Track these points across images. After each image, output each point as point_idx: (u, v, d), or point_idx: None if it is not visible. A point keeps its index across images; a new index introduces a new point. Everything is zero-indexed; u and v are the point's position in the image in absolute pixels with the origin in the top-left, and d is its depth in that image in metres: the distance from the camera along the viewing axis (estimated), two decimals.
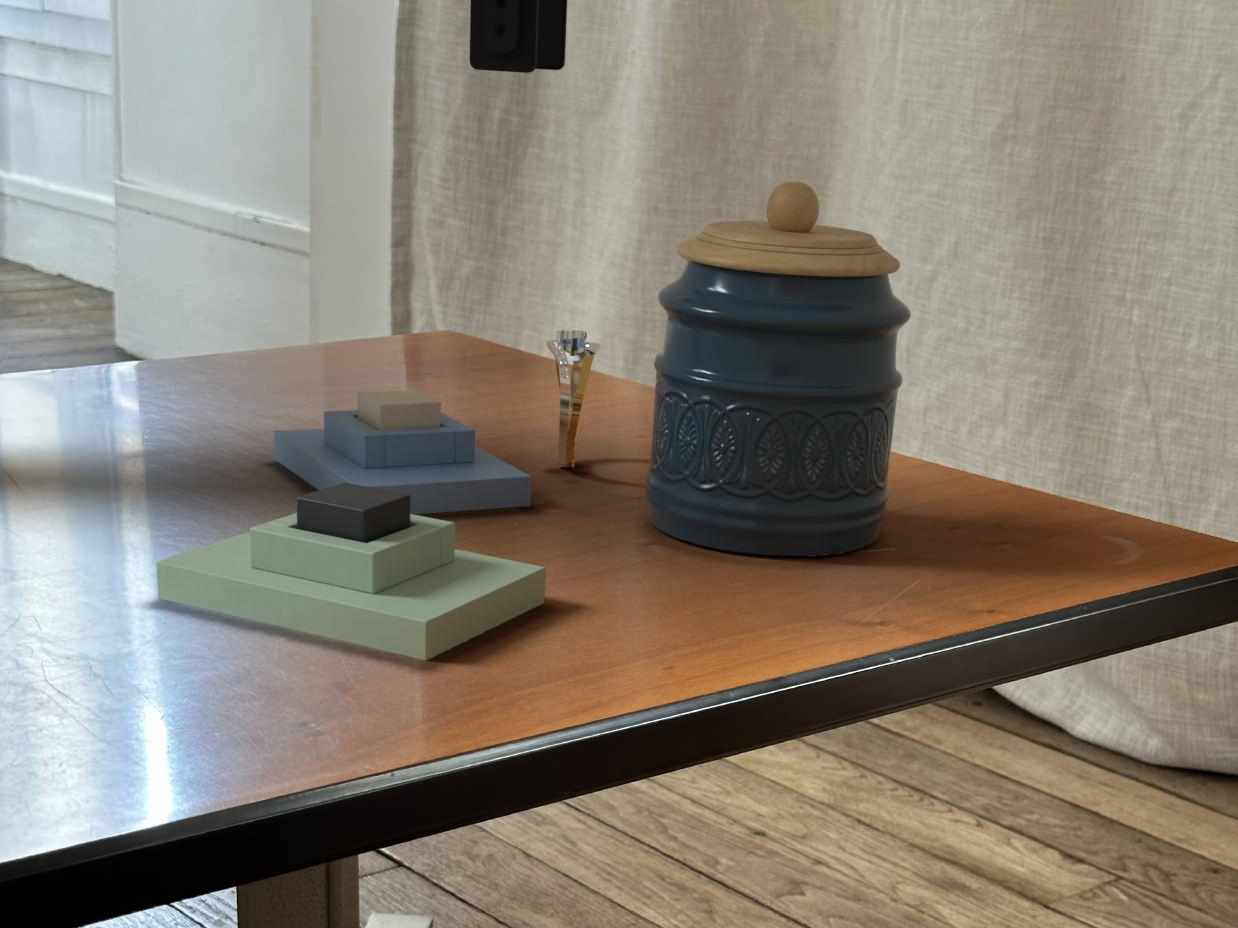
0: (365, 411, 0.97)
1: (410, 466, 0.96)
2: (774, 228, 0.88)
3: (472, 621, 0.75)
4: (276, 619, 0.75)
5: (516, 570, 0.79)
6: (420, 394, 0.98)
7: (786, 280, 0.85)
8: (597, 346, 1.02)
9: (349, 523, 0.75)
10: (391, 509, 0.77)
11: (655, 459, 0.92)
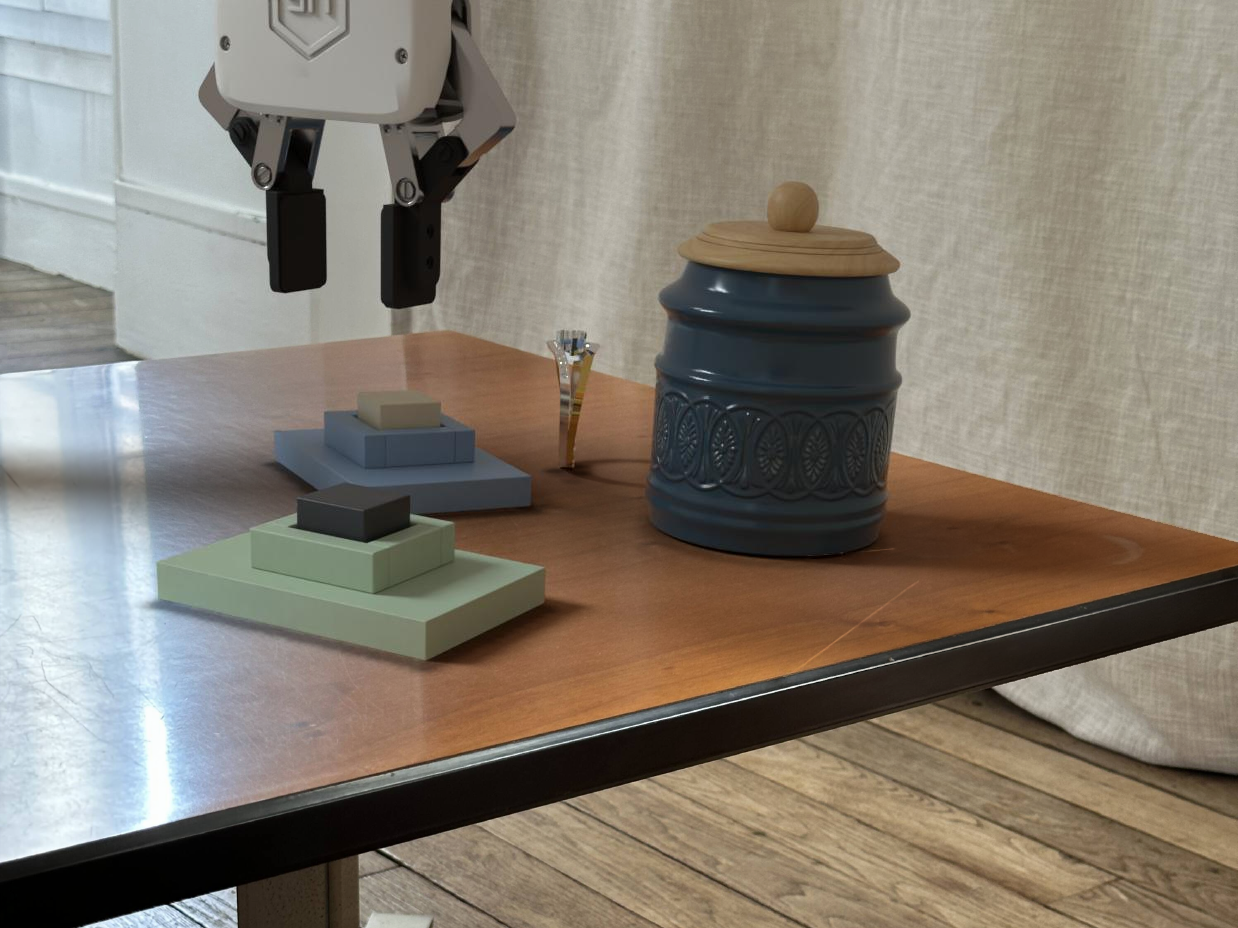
0: (365, 411, 0.97)
1: (410, 466, 0.96)
2: (774, 228, 0.88)
3: (472, 621, 0.75)
4: (276, 619, 0.75)
5: (516, 570, 0.79)
6: (420, 394, 0.98)
7: (786, 280, 0.85)
8: (597, 346, 1.02)
9: (349, 523, 0.75)
10: (391, 509, 0.77)
11: (655, 459, 0.92)
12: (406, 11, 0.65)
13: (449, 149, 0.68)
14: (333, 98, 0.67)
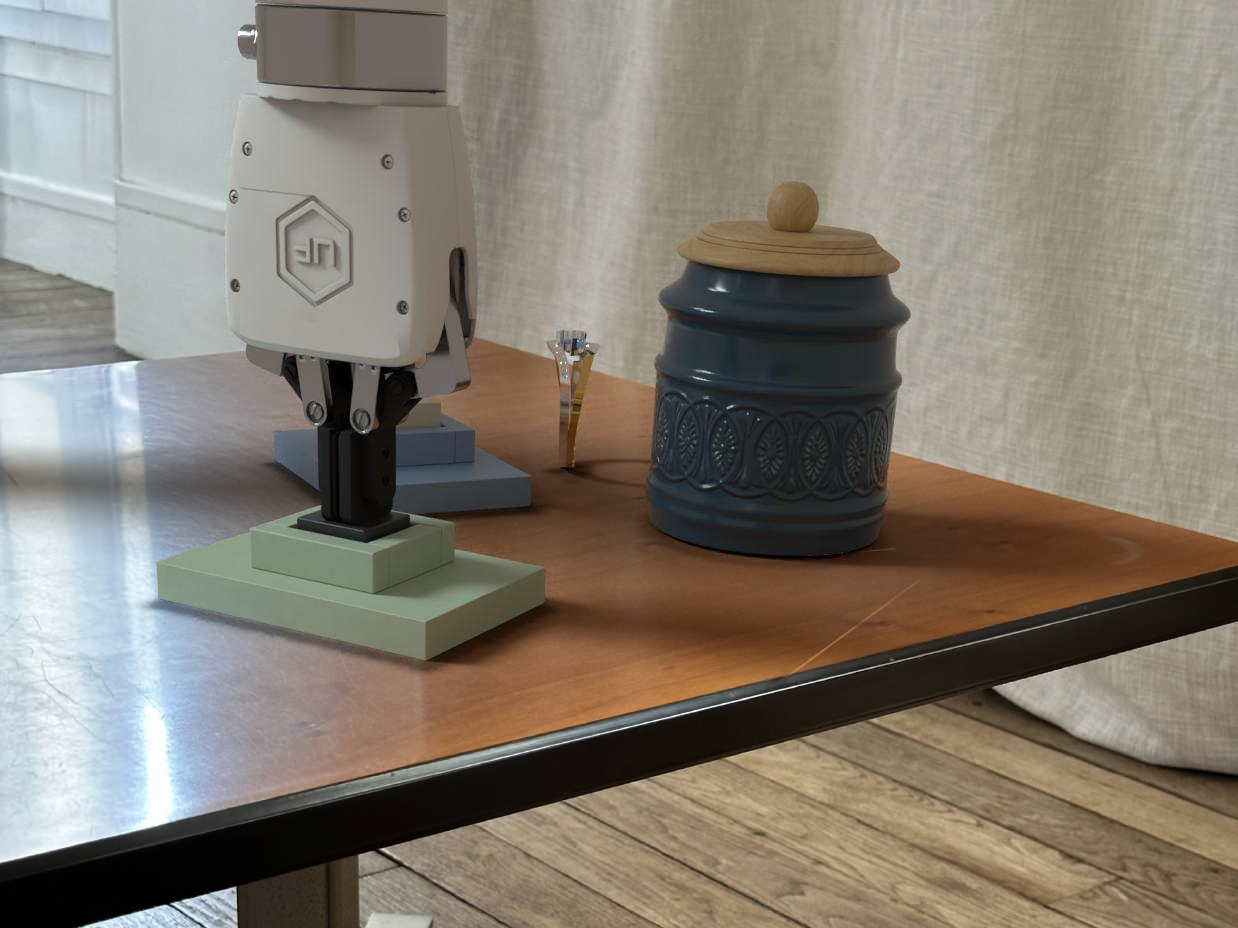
0: None
1: (410, 466, 0.96)
2: (774, 228, 0.88)
3: (472, 621, 0.75)
4: (276, 619, 0.75)
5: (516, 570, 0.79)
6: None
7: (786, 280, 0.85)
8: (597, 346, 1.02)
9: None
10: (391, 529, 0.77)
11: (655, 459, 0.92)
12: (407, 267, 0.69)
13: (401, 384, 0.73)
14: (338, 342, 0.71)
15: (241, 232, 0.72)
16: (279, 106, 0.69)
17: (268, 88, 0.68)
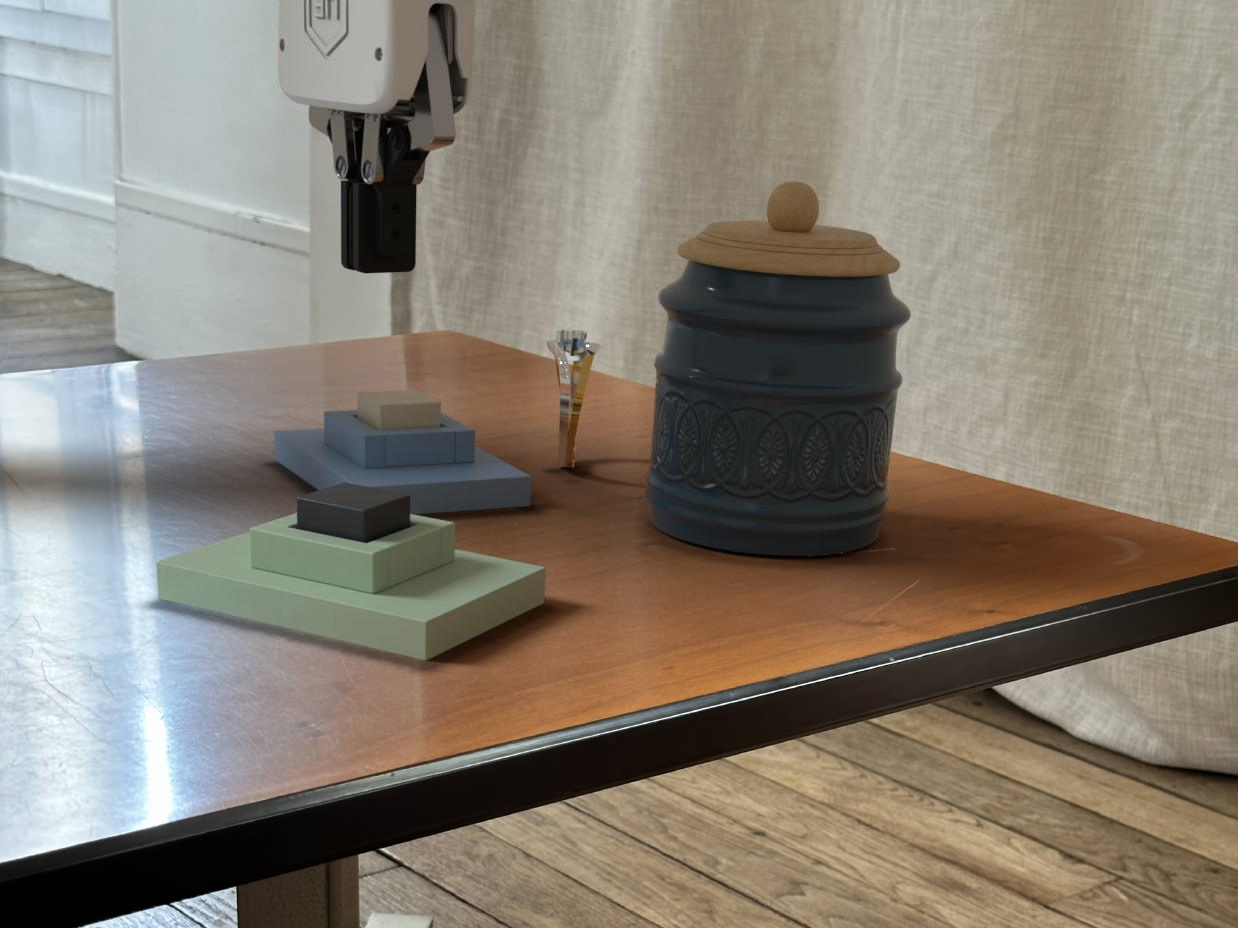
0: (365, 411, 0.97)
1: (410, 466, 0.96)
2: (774, 228, 0.88)
3: (472, 621, 0.75)
4: (276, 619, 0.75)
5: (516, 570, 0.79)
6: (420, 394, 0.98)
7: (786, 280, 0.85)
8: (597, 346, 1.02)
9: (349, 523, 0.75)
10: (391, 509, 0.77)
11: (655, 459, 0.92)
12: (382, 15, 0.75)
13: (395, 136, 0.79)
14: (339, 91, 0.79)
15: None
16: None
17: None
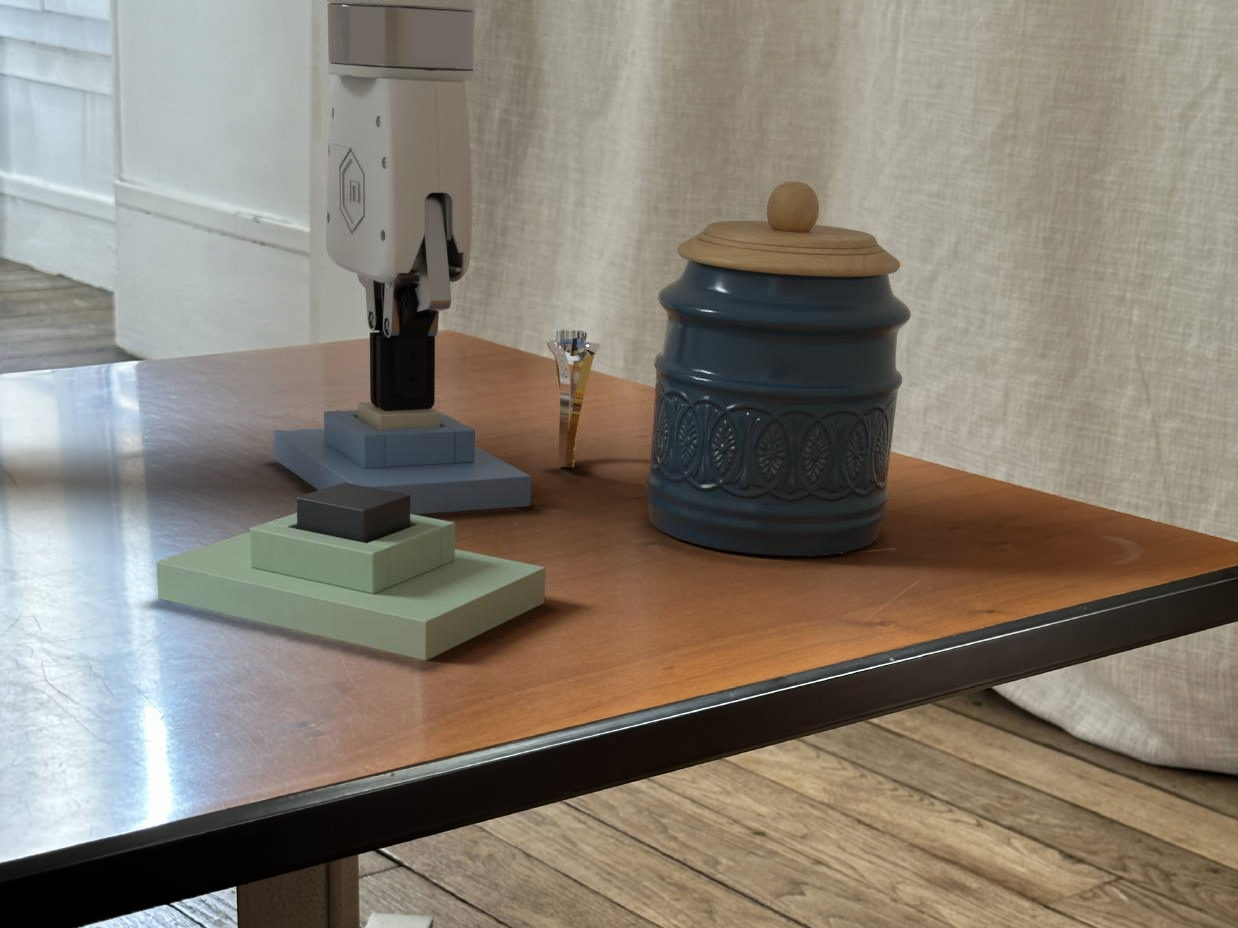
0: (365, 421, 0.98)
1: (410, 466, 0.96)
2: (774, 228, 0.88)
3: (472, 621, 0.75)
4: (276, 619, 0.75)
5: (516, 570, 0.79)
6: None
7: (786, 280, 0.85)
8: (597, 346, 1.02)
9: (349, 523, 0.75)
10: (391, 509, 0.77)
11: (655, 459, 0.92)
12: (385, 204, 0.89)
13: (405, 300, 0.92)
14: (359, 261, 0.92)
15: (330, 176, 0.95)
16: (343, 80, 0.91)
17: (328, 66, 0.90)
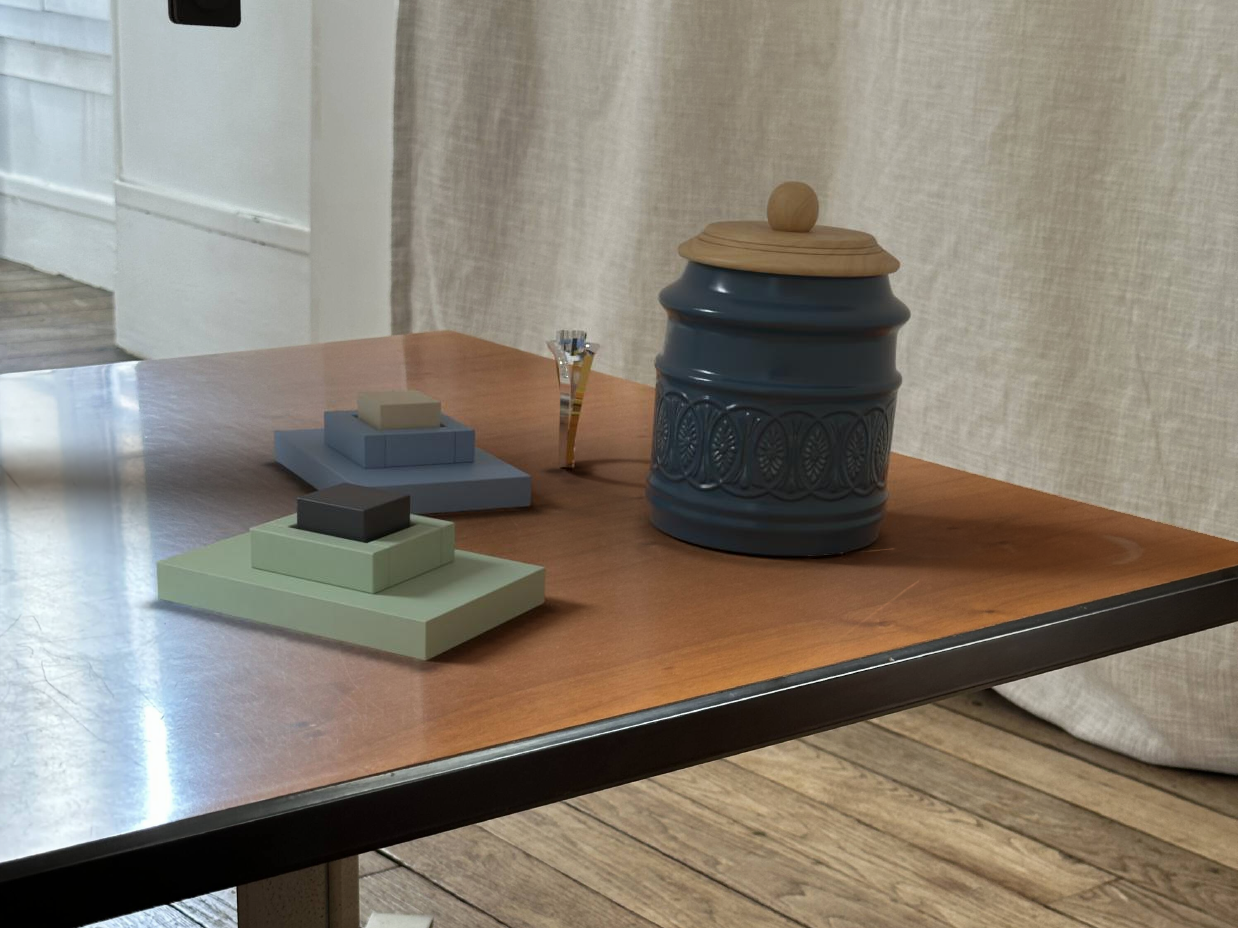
0: (365, 411, 0.97)
1: (410, 466, 0.96)
2: (774, 228, 0.88)
3: (472, 621, 0.75)
4: (276, 619, 0.75)
5: (516, 570, 0.79)
6: (420, 394, 0.98)
7: (786, 280, 0.85)
8: (597, 346, 1.02)
9: (349, 523, 0.75)
10: (391, 509, 0.77)
11: (655, 459, 0.92)
12: None
13: None
14: None
15: None
16: None
17: None
